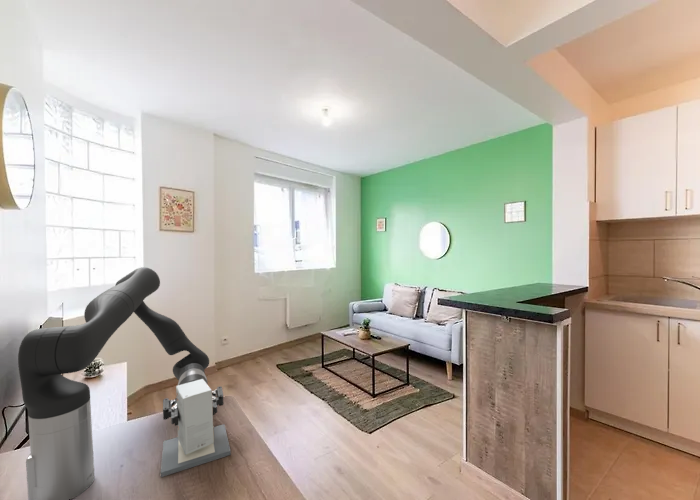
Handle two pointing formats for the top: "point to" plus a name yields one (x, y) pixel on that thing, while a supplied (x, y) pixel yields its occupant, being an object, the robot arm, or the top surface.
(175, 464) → the base board
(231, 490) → the top surface
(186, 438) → the small box
